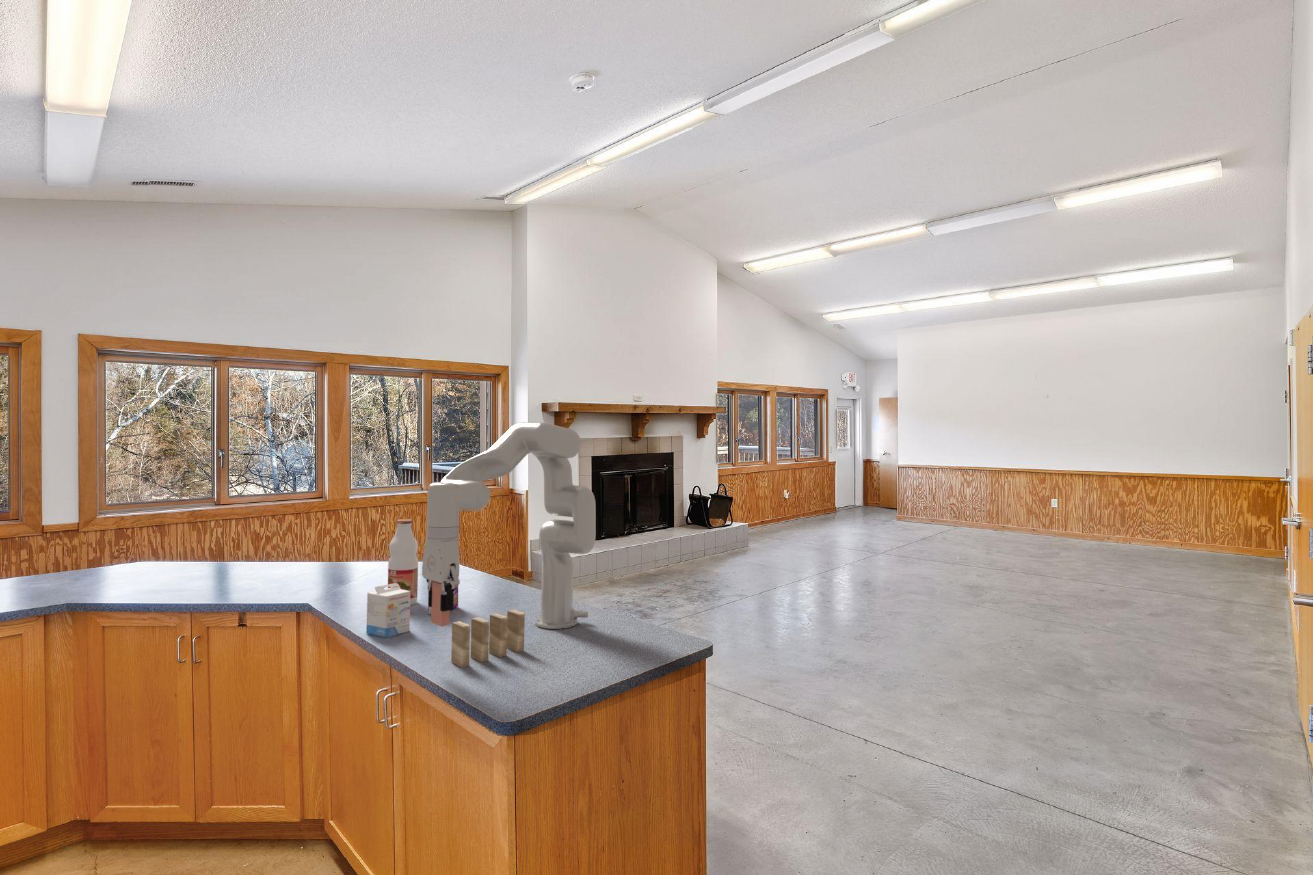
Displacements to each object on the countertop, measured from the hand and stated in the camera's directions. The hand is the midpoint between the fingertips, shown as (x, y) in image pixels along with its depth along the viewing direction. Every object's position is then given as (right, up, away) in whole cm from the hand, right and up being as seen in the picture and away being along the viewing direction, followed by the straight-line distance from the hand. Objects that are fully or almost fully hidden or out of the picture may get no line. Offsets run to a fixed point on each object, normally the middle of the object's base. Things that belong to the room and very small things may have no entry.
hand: (440, 607), depth 164 cm
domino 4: (+11, -15, +12) cm, 23 cm away
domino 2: (+3, -15, +4) cm, 16 cm away
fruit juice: (-32, -14, +61) cm, 71 cm away
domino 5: (+15, -15, +16) cm, 27 cm away
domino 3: (+7, -15, +8) cm, 19 cm away
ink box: (-24, -15, +29) cm, 41 cm away
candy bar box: (-16, -15, +54) cm, 58 cm away
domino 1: (0, -4, 0) cm, 4 cm away
